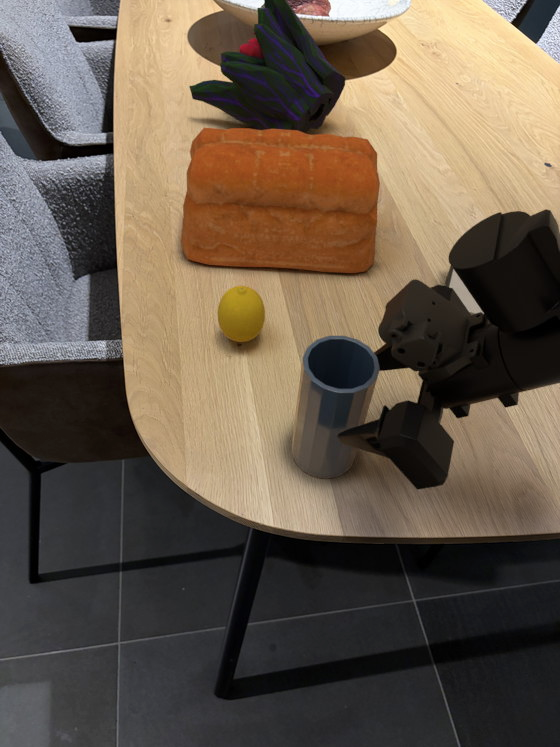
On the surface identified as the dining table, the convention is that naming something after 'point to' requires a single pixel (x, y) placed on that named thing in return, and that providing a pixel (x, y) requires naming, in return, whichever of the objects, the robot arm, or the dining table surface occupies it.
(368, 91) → the dining table surface
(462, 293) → the kitchen scale
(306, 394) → the tumbler
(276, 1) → the decorative plant
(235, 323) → the lemon
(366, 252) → the bread
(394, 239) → the dining table surface
